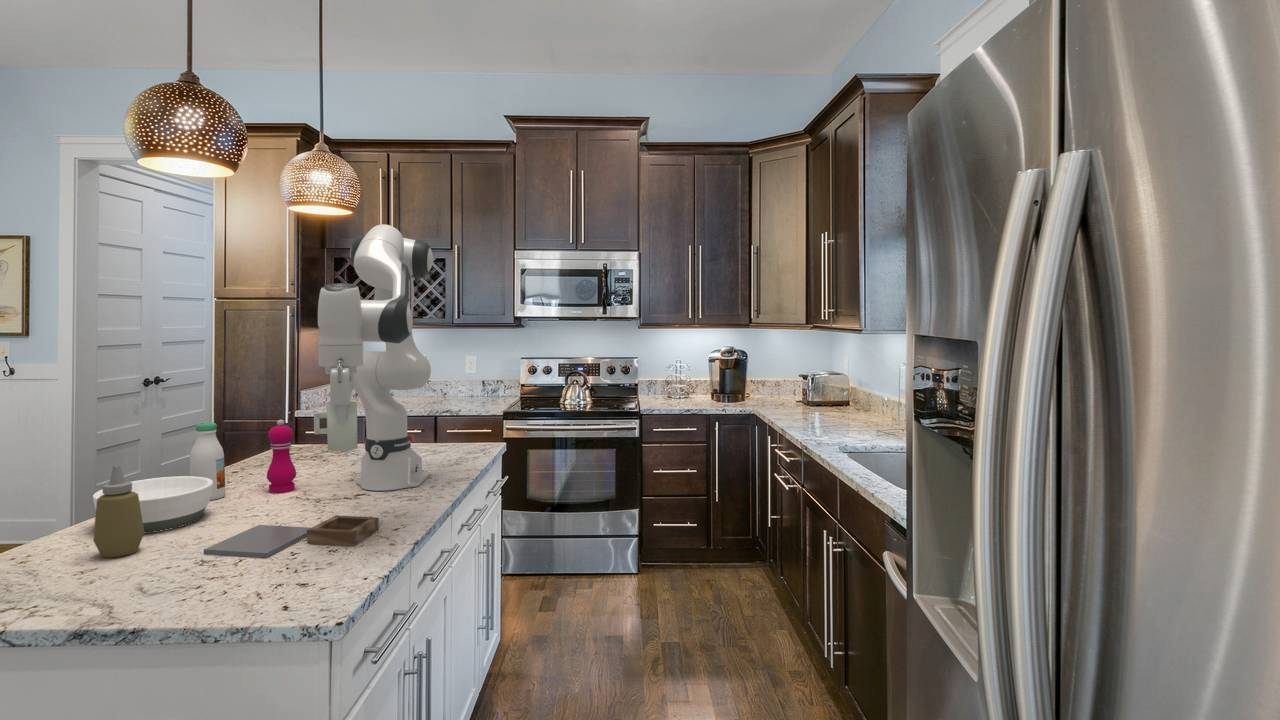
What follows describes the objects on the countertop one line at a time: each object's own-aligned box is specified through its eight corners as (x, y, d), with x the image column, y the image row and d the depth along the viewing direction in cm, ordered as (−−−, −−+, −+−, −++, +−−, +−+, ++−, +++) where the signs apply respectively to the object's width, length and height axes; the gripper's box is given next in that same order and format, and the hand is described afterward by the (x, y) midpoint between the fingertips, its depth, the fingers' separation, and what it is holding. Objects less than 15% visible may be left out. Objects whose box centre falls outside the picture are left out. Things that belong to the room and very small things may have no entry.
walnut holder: (336, 528, 147) (335, 515, 147) (378, 530, 146) (378, 517, 146) (307, 543, 137) (306, 530, 137) (352, 546, 136) (352, 532, 136)
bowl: (71, 542, 136) (70, 504, 136) (123, 511, 158) (122, 478, 157) (193, 533, 143) (192, 497, 142) (227, 505, 164) (226, 473, 164)
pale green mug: (357, 444, 144) (357, 400, 144) (357, 449, 139) (356, 404, 138) (315, 447, 141) (314, 402, 140) (313, 452, 135) (312, 406, 135)
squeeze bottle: (102, 549, 132) (99, 463, 131) (150, 544, 136) (147, 460, 134) (87, 563, 125) (83, 472, 124) (137, 557, 128) (134, 469, 127)
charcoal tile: (259, 528, 146) (259, 524, 146) (316, 532, 144) (316, 527, 144) (203, 554, 130) (203, 549, 130) (266, 558, 129) (266, 553, 129)
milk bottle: (208, 502, 166) (205, 426, 165) (183, 500, 168) (180, 425, 166) (232, 495, 174) (230, 422, 172) (208, 493, 175) (206, 421, 174)
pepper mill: (287, 494, 175) (285, 421, 174) (261, 493, 175) (259, 421, 174) (301, 487, 182) (300, 417, 181) (276, 486, 182) (275, 417, 181)
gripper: (356, 360, 131) (357, 427, 132) (357, 354, 150) (358, 413, 150) (321, 361, 128) (323, 429, 129) (327, 355, 147) (328, 414, 148)
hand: (342, 420), depth 140 cm, fingers closed on pale green mug, 6 cm apart
